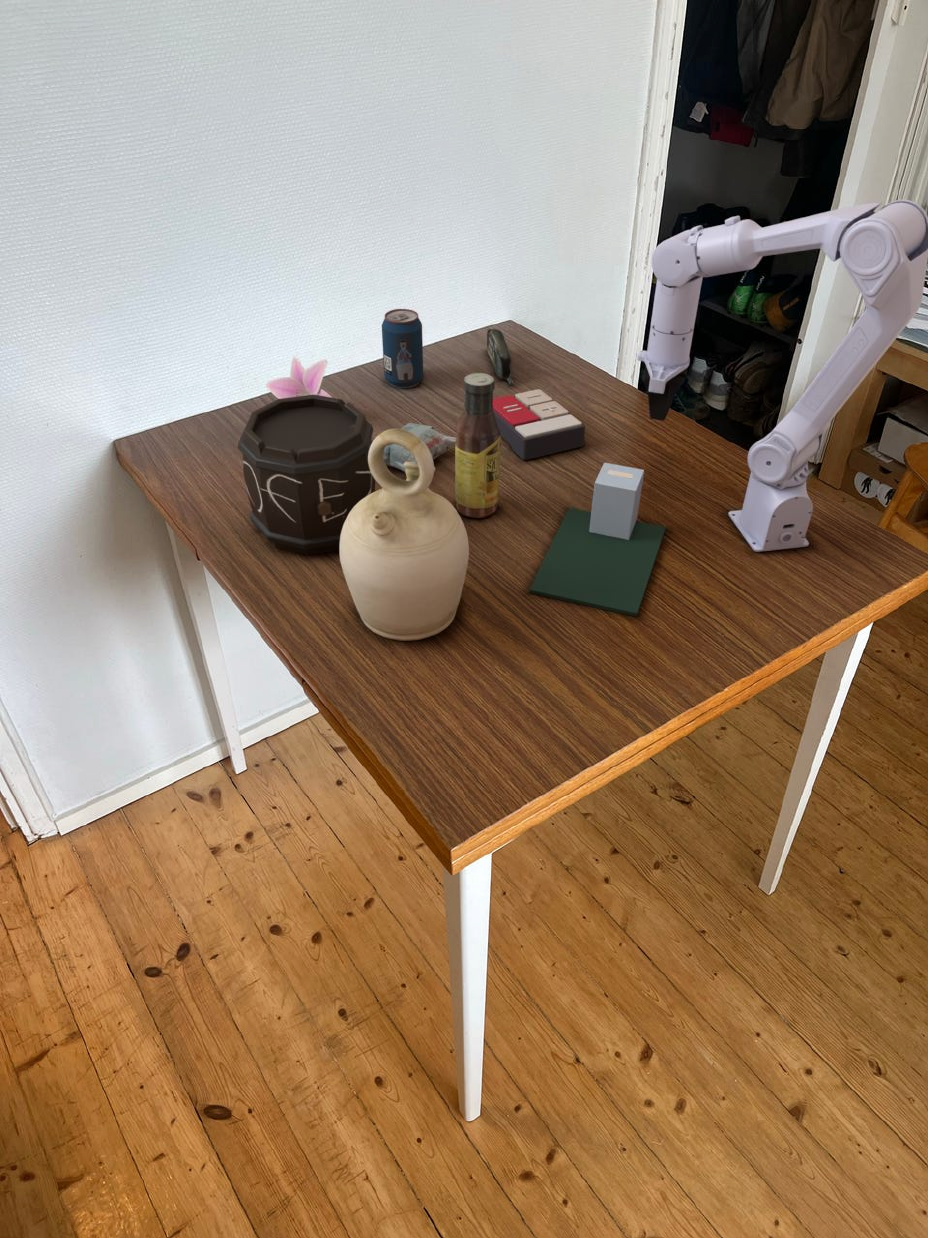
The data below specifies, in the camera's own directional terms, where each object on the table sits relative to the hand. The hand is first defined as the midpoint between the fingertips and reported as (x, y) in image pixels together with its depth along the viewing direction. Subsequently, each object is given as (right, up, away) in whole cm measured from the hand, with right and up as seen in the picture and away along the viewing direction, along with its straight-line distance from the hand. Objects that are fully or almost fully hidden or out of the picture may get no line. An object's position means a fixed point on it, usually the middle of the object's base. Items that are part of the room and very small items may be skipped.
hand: (657, 417), depth 133 cm
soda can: (-39, +13, +32) cm, 52 cm away
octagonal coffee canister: (-49, -16, -2) cm, 51 cm away
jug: (-35, -28, -17) cm, 48 cm away
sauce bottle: (-26, -13, +1) cm, 29 cm away
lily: (-54, +4, +21) cm, 58 cm away
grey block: (-7, -13, -6) cm, 16 cm away
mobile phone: (-21, +17, +36) cm, 45 cm away
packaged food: (-35, -5, +10) cm, 37 cm away
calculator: (-17, +1, +18) cm, 24 cm away
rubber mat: (-10, -21, -9) cm, 25 cm away
